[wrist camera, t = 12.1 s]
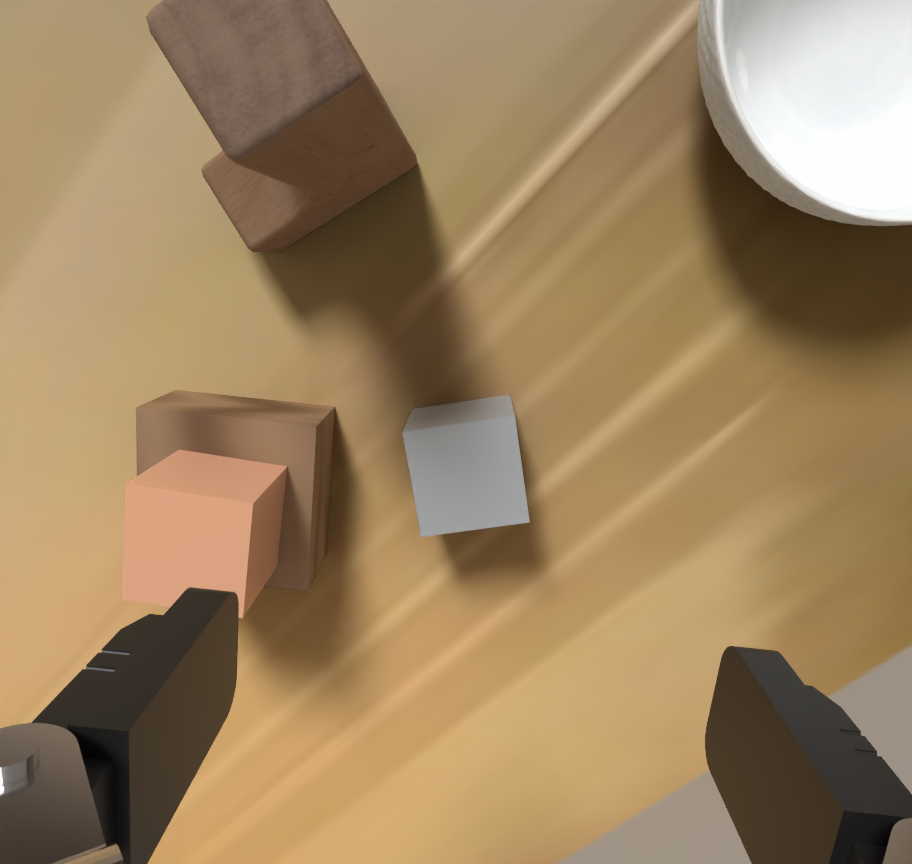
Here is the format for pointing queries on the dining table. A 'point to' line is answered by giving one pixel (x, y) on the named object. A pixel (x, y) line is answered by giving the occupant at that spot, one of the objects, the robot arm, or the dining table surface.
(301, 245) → the dining table surface
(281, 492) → the terracotta cube
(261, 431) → the walnut base block
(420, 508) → the slate cube
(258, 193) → the wooden block
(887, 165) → the cereal bowl
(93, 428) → the dining table surface
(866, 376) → the dining table surface
